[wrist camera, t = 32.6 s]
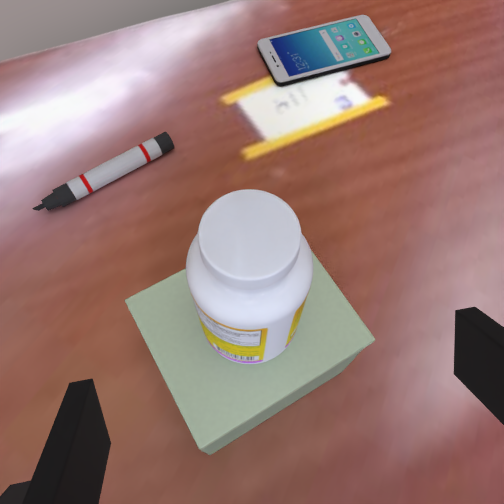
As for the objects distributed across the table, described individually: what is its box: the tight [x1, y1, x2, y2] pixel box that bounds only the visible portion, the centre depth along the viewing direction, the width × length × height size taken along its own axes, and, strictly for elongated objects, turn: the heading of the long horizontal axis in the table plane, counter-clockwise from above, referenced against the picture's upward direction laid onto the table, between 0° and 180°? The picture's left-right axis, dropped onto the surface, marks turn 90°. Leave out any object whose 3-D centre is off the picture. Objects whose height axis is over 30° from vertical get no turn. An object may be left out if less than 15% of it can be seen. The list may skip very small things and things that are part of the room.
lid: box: [125, 249, 375, 450], centre depth 33 cm, size 14×11×1 cm
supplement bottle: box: [186, 189, 313, 364], centre depth 26 cm, size 7×7×13 cm
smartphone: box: [257, 15, 391, 86], centre depth 56 cm, size 8×1×15 cm
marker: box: [33, 132, 174, 211], centre depth 47 cm, size 15×2×2 cm, turn 125°
